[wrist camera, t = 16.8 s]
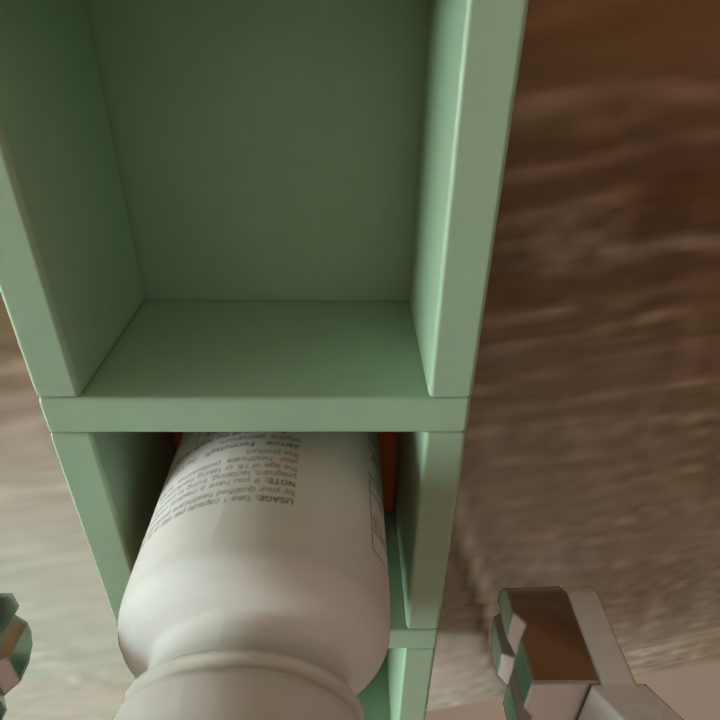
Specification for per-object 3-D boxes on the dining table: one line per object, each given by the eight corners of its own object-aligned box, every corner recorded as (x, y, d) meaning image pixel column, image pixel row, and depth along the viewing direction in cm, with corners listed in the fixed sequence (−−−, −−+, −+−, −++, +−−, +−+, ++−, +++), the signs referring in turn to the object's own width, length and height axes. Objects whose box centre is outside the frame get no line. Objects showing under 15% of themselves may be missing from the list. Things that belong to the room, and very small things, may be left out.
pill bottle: (155, 446, 14) (-17, 855, 7) (258, 318, 12) (152, 708, 5) (305, 524, 15) (274, 921, 9) (416, 421, 14) (481, 823, 7)
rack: (404, 637, 19) (417, 777, 16) (201, 639, 19) (169, 780, 16) (471, -58, 9) (544, -89, 6) (43, -67, 9) (-143, -103, 6)
